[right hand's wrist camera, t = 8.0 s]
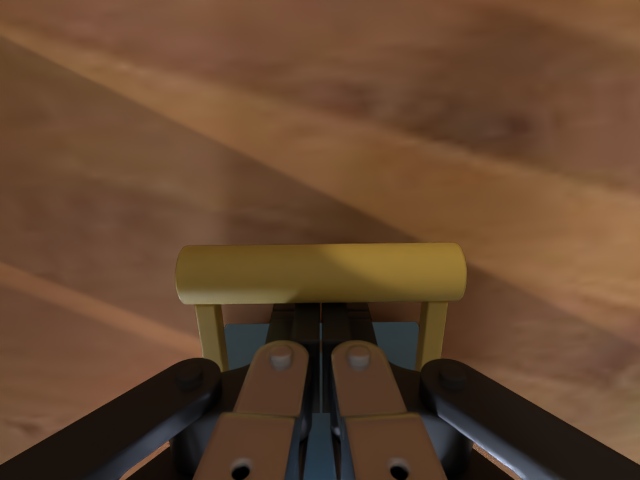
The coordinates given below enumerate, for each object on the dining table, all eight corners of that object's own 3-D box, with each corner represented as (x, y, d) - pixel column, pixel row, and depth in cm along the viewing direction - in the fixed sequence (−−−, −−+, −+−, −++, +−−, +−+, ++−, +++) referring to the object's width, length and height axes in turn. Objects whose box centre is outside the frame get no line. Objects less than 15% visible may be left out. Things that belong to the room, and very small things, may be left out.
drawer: (210, 199, 15) (97, 305, 7) (429, 196, 15) (545, 299, 7) (252, 535, 22) (220, 753, 15) (394, 533, 22) (433, 750, 15)
